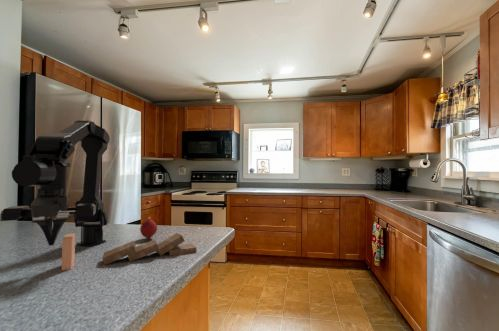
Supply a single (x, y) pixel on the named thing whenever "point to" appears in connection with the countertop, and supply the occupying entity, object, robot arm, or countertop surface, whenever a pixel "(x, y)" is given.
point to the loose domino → (68, 251)
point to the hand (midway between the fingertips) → (51, 245)
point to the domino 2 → (144, 250)
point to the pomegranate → (148, 228)
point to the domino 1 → (119, 252)
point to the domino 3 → (169, 243)
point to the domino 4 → (182, 249)
